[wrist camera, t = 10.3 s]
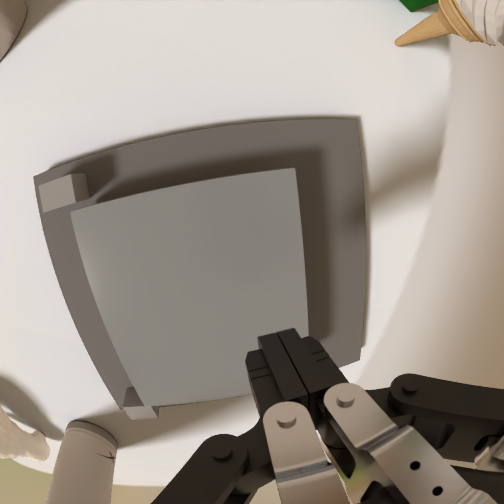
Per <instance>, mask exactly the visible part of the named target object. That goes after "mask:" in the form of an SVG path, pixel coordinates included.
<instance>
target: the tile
mask: <svg viewBox="0 0 504 504" xmlns="http://www.w3.org/2000/svg"><path fill="white" fill-rule="evenodd" d="M70 215H71V219H72V224H73V228H74V232H75V236H76V240H77V244H78V248H79V251H80V255H81V258H82V262H83V265H84V268H85V272H86V275H87V278H88V281H89V284H90V287H91V290H92V293H93V296H94V299H95V301H96V304H97V307H98V309H99V312H100V315H101V317H102V320H103V322H104V325H105V327H106V329H107V332H108V334H109V337H110V339H111V341H112V343H113V346H114V348H115V350H116V352H117V354H118V356H119V359H120V361H121V363H122V365H123V367H124V369H125V371H126V373H127V375H128V377H129V379H130V381H131V383H132V384H133V386H134V388H135V390H136V392H137V394H138V395H139V397H140V399H141V401H142V403H143V404H144V406H159V405H173V404H185V403H194V402H203V401H211V400H218V399H225V398H231V397H238V396H243V395H249V394H252V390H251V387H250V383H249V378H248V373H247V369H246V364H245V360H246V356H247V353H248V352H249V351H254V350H258V349H259V347H258V340H257V337H258V336H262V335H266V334H271V333H276V332H278V331H282V330H286V329H290V328H295V329H296V331H297V332H298V334H299V335H300V337H301V338H304V337H307V336H309V332H308V310H307V292H306V277H305V263H304V250H303V238H302V227H301V217H300V207H299V198H298V189H297V180H296V172H295V168H281V169H272V170H264V171H257V172H249V173H242V174H236V175H229V176H223V177H217V178H211V179H205V180H199V181H194V182H188V183H183V184H178V185H173V186H168V187H163V188H159V189H154V190H149V191H145V192H140V193H136V194H132V195H128V196H124V197H120V198H116V199H112V200H108V201H104V202H100V203H96V204H93V205H89V206H86V207H83V208H80V209H77V210H74V211H71V212H70Z"/></svg>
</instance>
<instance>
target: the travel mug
mask: <svg viewBox="0 0 504 504" xmlns="http://www.w3.org/2000/svg"><path fill="white" fill-rule="evenodd" d="M117 446H118V445H117V442H116V440H115V439H114V438H113V437H112V436H111V435H110V434H109V433H108V432H106V431H105V430H103V429H102V428H100V427H98V426H96V425H93V424H90V423H87V422H82V421H73V422H71V423H69V424H68V425H67V428H66V431H65V434H64V437H63V440H62V443H61V446H60V450H59V453H58V456H57V460H56V463H55V467H54V471H53V475H52V479H51V483H50V487H49V491H48V496H47V501H46V504H110V502H111V491H112V482H113V474H114V467H115V459H116V453H117Z"/></svg>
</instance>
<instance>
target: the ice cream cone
mask: <svg viewBox="0 0 504 504" xmlns="http://www.w3.org/2000/svg"><path fill="white" fill-rule="evenodd" d="M438 1H439V7H438V11H437V12H436V13H434V14H432V15H431V16H429V17H427V18H426V19H424V20H423V21H421V22H420V23H419V24H417V25H416V26H414V27H413V28H411V29H410V30H408V31H407V32H406V33H404V34H403V35H401V36H400V37H399V38H397V39H396V40H395V44H396V45H397V46H403V45H406V44H409V43H413V42H417V41H421V40H425V39H429V38H434V37H438V36H442V35H447V34H451V33H453V34H456V35H459V36H461V37H463V38H464V39H465V40H467V41H469V42H473V41H477V42H482V43H483V42H485V43H486V44H488V45H490V46H491V45H494V46H495V45H497V42H498V41H499V42H500V43H501V44H503V45H504V0H438Z"/></svg>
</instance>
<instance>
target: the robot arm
mask: <svg viewBox="0 0 504 504" xmlns="http://www.w3.org/2000/svg"><path fill="white" fill-rule="evenodd" d="M26 12H27V6H26V4H25V2H24V1H23V0H0V60H1V59H2V57H3V56H4V55H5V53H6V52H7V51H8V49H9V48H10V46H11V45H12V43H13V42H14V40H15V38H16V37H17V35H18V33H19V31H20V29H21V27H22V25H23V22H24V20H25V16H26ZM257 340H258V347H259V349H258V350H254V351H249V352H248V353H247V356H246V360H245V364H246V369H247V373H248V378H249V383H250V387H251V390H252V394H253V397H254V400H255V403H256V407H257V410H258V413H259V416H260V418H259V421H258V422H257V424H256V425H255V426H254V427H253V428H252V429H251V430H249V431H247V432H246V433H244V434H242V435H240V436H238V437H236V436H234V435H230V434H219V435H214V436H212V437H210V438H208V439H206V440H205V441H204V442H203V443H202V444H201V445H200V447H199V448H198V449H197V450H196V452H195V453H194V454H193V455H192V457H191V458H190V459H189V460H188V461H187V463H186V464H185V465H184V466H183V468H182V469H181V470H180V471H179V472H178V473H177V475H176V476H175V477H174V478H173V479H172V480H171V482H170V483H169V484H168V485H167V486H166V487H165V489H164V490H163V491H162V492H161V493H160V494H159V495H158V496H157V498H156V499H155V500H154V501H153V502H152V503H151V504H249V503H250V501H251V500H252V498H253V496H254V495H255V493H256V492H257V490H258V488H260V487H262V486H264V485H266V484H267V483H269V482H271V481H272V480H274V479H276V483H277V487H278V491H279V496H280V500H281V504H350V502H349V500H348V497H347V495H346V492H345V490H344V487H343V485H342V482H341V480H340V477H339V475H340V476H341V478H342V479H343V481H344V483H345V486H346V491H347V494H348V496H349V498H350V499H351V501H352V503H353V504H504V389H497V388H489V387H482V386H475V385H469V384H463V383H457V382H452V381H446V380H441V379H436V378H431V377H426V376H422V375H417V374H403V375H400V376H398V377H396V378H395V379H394V380H393V382H392V383H391V386H390V387H388V388H383V389H376V390H364V389H363V388H362V387H360V386H358V385H356V384H353V383H349V382H348V381H347V379H346V378H345V376H344V375H343V374H342V372H341V371H340V370H339V368H338V367H337V365H336V364H335V363H334V361H333V360H332V358H330V356H329V354H328V353H327V352H326V351H325V349H324V347H323V346H322V345H321V343H320V342H319V341H317V340H316V339H314V338H312V337H311V336H307V337H304V338H301V337H300V335H299V334H298V332H297V331H296V329H295V328H290V329H286V330H282V331H278V332H276V333H271V334H266V335H262V336H258V337H257ZM316 430H318V432H319V434H320V436H321V443H320V440H319V437H318V435H317V432H316ZM324 451H325V453H326V454H327V456H328V458H329V459H330V460H331V462H332V463H329V462H328V461H327V458H326V456H325V453H324ZM443 458H444V459H450V460H457V461H464V462H473V463H475V466H474V469H470V468H465V467H458V466H453V465H449V464H448V463H447V462H446V461H445V460H444V459H443ZM338 473H339V475H338Z"/></svg>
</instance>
